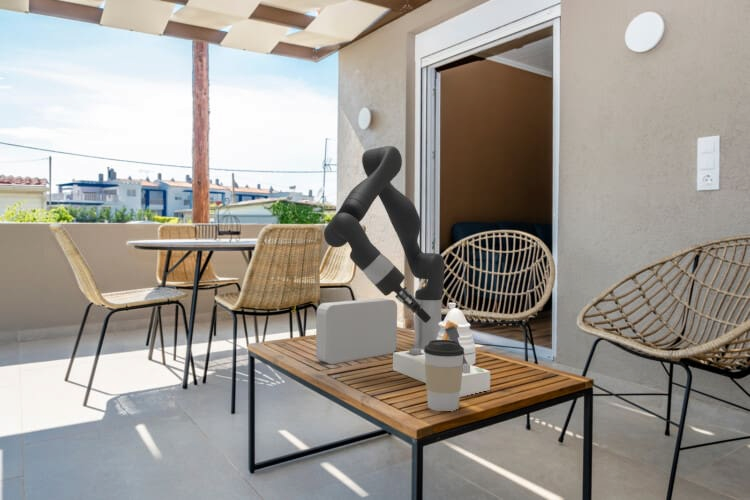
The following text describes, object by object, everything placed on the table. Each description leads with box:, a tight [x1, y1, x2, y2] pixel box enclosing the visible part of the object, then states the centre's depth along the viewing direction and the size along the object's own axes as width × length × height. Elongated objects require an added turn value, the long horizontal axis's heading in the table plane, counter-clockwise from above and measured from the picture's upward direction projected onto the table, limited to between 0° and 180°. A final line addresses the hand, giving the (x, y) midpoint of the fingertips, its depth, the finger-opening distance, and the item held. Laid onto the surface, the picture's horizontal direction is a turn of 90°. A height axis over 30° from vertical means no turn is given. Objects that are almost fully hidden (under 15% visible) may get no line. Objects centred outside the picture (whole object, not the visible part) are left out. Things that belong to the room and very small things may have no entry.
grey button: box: [408, 347, 421, 356], centre depth 145 cm, size 3×3×3 cm
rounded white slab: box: [315, 297, 398, 365], centre depth 161 cm, size 29×8×18 cm, turn 129°
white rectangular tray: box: [392, 349, 491, 398], centre depth 136 cm, size 10×29×7 cm, turn 32°
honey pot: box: [436, 302, 477, 366], centre depth 157 cm, size 13×13×18 cm
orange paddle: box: [442, 320, 458, 340], centre depth 136 cm, size 2×4×11 cm, turn 1°
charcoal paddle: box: [445, 326, 468, 364], centre depth 127 cm, size 2×4×11 cm, turn 3°
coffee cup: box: [424, 340, 464, 412], centre depth 113 cm, size 9×9×15 cm
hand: (428, 320), depth 135 cm, fingers closed
